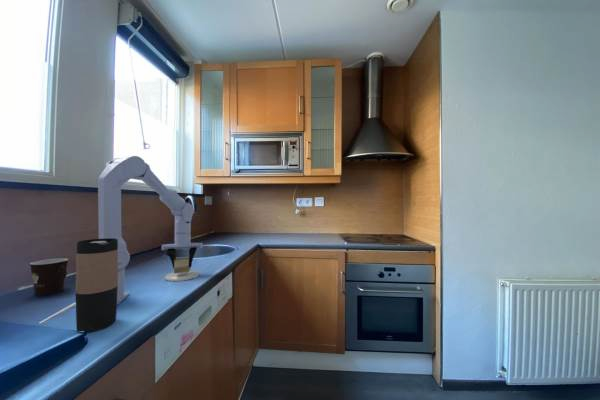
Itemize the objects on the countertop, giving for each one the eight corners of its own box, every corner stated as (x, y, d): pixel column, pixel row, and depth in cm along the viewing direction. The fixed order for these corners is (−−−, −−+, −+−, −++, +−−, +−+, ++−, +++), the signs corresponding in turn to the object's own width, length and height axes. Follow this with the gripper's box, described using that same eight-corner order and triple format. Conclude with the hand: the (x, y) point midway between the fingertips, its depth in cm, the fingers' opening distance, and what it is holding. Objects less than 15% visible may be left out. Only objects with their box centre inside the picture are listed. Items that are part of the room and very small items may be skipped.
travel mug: (88, 319, 60) (89, 238, 60) (123, 316, 62) (124, 237, 62) (66, 335, 52) (67, 243, 53) (106, 331, 54) (107, 242, 55)
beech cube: (188, 272, 94) (188, 259, 94) (174, 273, 92) (174, 260, 92) (190, 269, 98) (190, 256, 99) (176, 270, 97) (176, 257, 97)
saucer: (197, 279, 91) (197, 277, 91) (161, 282, 88) (161, 280, 88) (200, 271, 103) (200, 269, 103) (168, 273, 99) (168, 271, 99)
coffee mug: (30, 292, 79) (30, 261, 79) (66, 285, 85) (67, 257, 85) (28, 302, 71) (29, 267, 71) (69, 294, 77) (69, 262, 77)
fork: (31, 327, 58) (31, 319, 58) (93, 294, 78) (93, 288, 78) (46, 326, 58) (46, 318, 58) (104, 293, 78) (104, 288, 78)
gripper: (203, 231, 102) (203, 263, 101) (164, 232, 97) (164, 266, 97) (201, 233, 95) (201, 267, 95) (160, 234, 91) (159, 270, 90)
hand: (182, 267), depth 95 cm, fingers closed on beech cube, 5 cm apart
